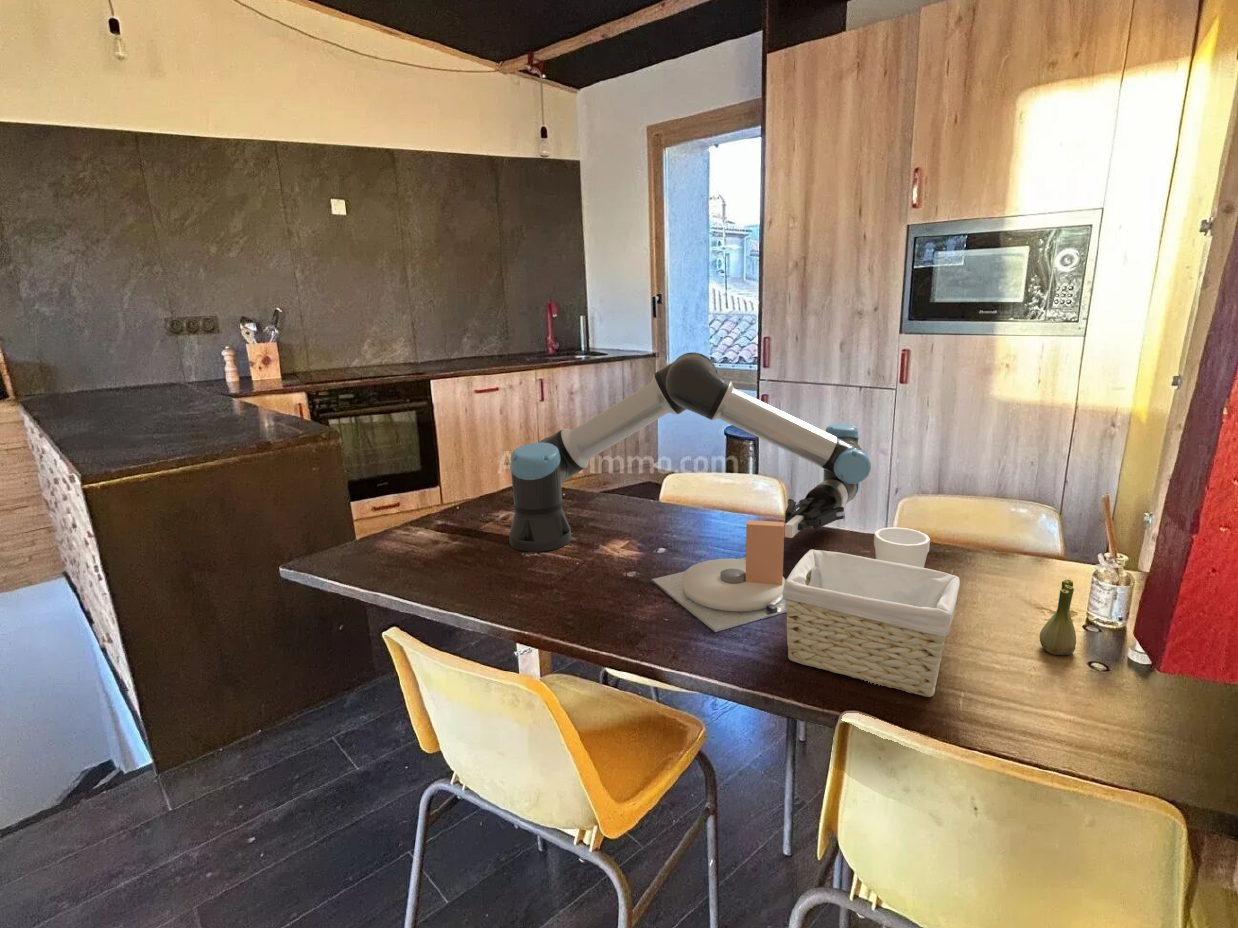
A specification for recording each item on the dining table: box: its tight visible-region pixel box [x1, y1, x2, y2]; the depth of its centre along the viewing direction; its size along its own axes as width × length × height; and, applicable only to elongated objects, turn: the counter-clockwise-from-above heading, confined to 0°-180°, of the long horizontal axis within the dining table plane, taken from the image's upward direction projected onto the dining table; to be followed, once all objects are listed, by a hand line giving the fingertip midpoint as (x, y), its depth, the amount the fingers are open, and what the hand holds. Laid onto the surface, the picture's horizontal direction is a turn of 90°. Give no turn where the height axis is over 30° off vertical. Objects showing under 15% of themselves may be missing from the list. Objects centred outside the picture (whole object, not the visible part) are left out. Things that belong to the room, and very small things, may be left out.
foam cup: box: [873, 526, 931, 568], centre depth 123 cm, size 10×9×13 cm
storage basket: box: [783, 549, 961, 698], centre depth 104 cm, size 24×16×15 cm
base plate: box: [651, 556, 787, 633], centre depth 131 cm, size 24×24×1 cm
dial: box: [683, 519, 786, 611], centre depth 129 cm, size 20×20×14 cm
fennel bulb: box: [1039, 578, 1077, 656], centre depth 105 cm, size 6×5×12 cm
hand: (788, 531), depth 133 cm, fingers closed
